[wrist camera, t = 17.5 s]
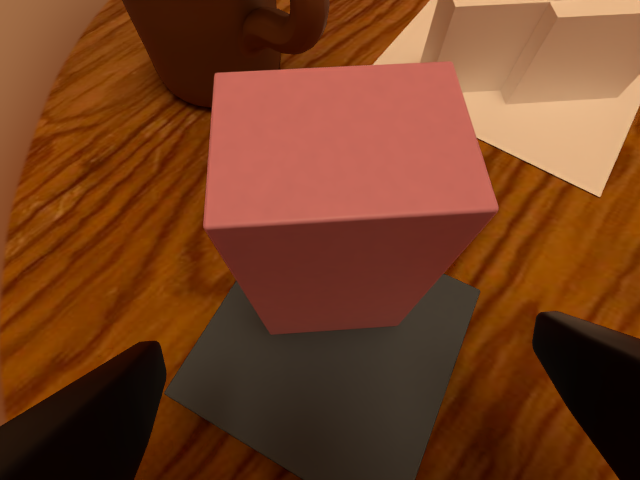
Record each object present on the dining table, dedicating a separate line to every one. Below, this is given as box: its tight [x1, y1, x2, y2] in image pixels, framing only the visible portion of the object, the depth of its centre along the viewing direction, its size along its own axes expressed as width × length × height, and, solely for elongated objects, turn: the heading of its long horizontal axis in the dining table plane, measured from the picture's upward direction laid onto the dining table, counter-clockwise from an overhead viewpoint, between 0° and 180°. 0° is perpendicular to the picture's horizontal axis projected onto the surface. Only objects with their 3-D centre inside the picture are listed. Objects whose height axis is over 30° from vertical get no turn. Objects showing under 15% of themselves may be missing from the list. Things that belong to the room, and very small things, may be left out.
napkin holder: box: [373, 0, 640, 197], centre depth 20 cm, size 15×11×6 cm
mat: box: [165, 274, 480, 480], centre depth 16 cm, size 10×10×1 cm
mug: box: [122, 0, 329, 108], centre depth 19 cm, size 12×8×9 cm, turn 51°
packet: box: [203, 61, 498, 335], centre depth 12 cm, size 4×6×10 cm
